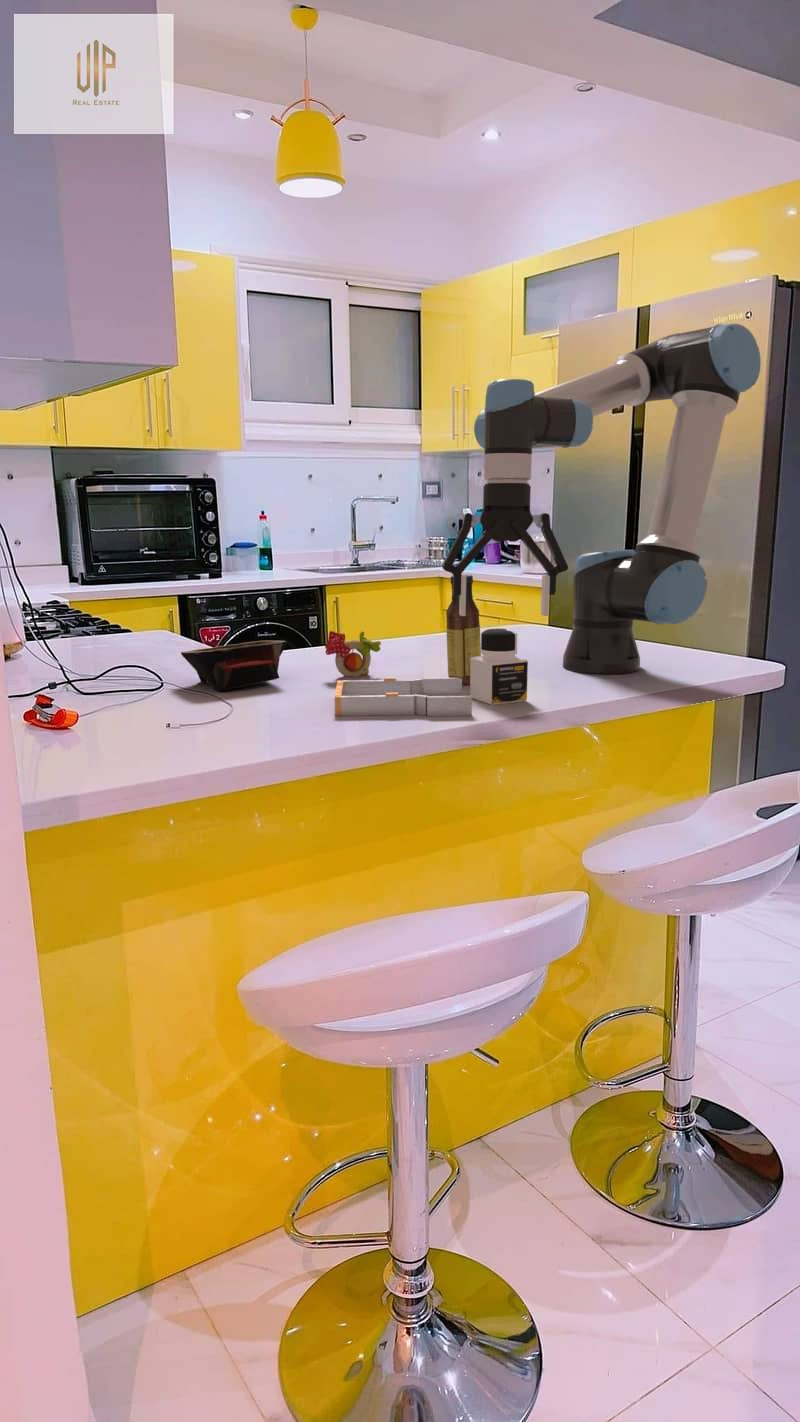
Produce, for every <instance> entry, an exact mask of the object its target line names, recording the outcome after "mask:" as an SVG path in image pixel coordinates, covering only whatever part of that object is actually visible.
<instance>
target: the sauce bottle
mask: <svg viewBox="0 0 800 1422" xmlns="http://www.w3.org/2000/svg"><path fill="white" fill-rule="evenodd" d="M465 575H466V616H460V614H459V603H460V595H455V594H454V592H453V575H450V584H451V602H450V604H449V605H448V606H447V609H446V612H445V616H446V628H445V630H446V650H447V652H446V656H447V658H446V659H447V676H448V678H462V686H466V685H469V686H470V659H471V657H477V656H482V654H481V624H480V610H479V609H478V607H477V605H476V602H475V601H474V599H473V598H474V596H473V583H474V578H473V575H472V574H465Z"/></svg>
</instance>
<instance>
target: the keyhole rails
mask: <svg viewBox="0 0 800 1422" xmlns="http://www.w3.org/2000/svg"><path fill="white" fill-rule="evenodd" d="M472 711H473V700H472V696H470V695H463V685H462V678H449V677H421V678H417V679H397V678H396V677H395V676H394V677H383V679H369V680H368V679H356V680H355V679H353V680H352V679H349V680H348V679H347V680H344V679H343V680H337V682H336V688H335V693H334V716H335V717H337V716H338V717H342V716H343V717H345V716H347V717H348V716H349V717H352V716H353V717H354V716H406V715H407V716H413V715H419V716H420V715H421V716H427V717H464V716H465V717H466V716H468V717H469V716H473V712H472Z"/></svg>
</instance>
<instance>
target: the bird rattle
mask: <svg viewBox="0 0 800 1422" xmlns="http://www.w3.org/2000/svg"><path fill="white" fill-rule="evenodd" d="M381 645H382V642H381V641H380V640H379V641H378V640H376V641H371V640H370V639H368V638H367V637H365V631H360V633H359V640H349V641H348V640H347V641H346V634H345V633H340V632H339V633H338V632H335V631H333V630H330V631H329V633H328V640H327V642H326V643H325V646H324V647H325V649H326V650H325V654H326V655H328V656H330V655H334V654H335V661H334V662H335V667H336V669H337V671H338V672H339V673H340V674H341V675H342V676H344V677H346V678H350V677H349V676H354V677H360V675H361V676H362V675H369V673H370V670H369V667H370V665H371V659H372V658H371V657H372V656H371V651H372V652H375V653H377V652H380V650H381V647H380V646H381ZM354 650H356V651H357V652H354Z"/></svg>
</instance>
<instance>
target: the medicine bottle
mask: <svg viewBox="0 0 800 1422" xmlns="http://www.w3.org/2000/svg"><path fill="white" fill-rule="evenodd" d="M480 643H481V656H477V657H471V659H470V685H469V696H472V699H473V700H476V701H479V702H480V703H481V702H482V703H485V704H488V705H491V706H496V705H497V706H499V705H505V704H513V703H514V704H515V703H522V702H526V701H527V700H528V669H529V667H528V666H529V664H528V663H529V662H528V661H529V660H528V659H526V658H521V657H517V656H516V655H517V654H518V632H516V631H515V630H513V629H510V628H488V629H485V630H484V631H482V632H480Z"/></svg>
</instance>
